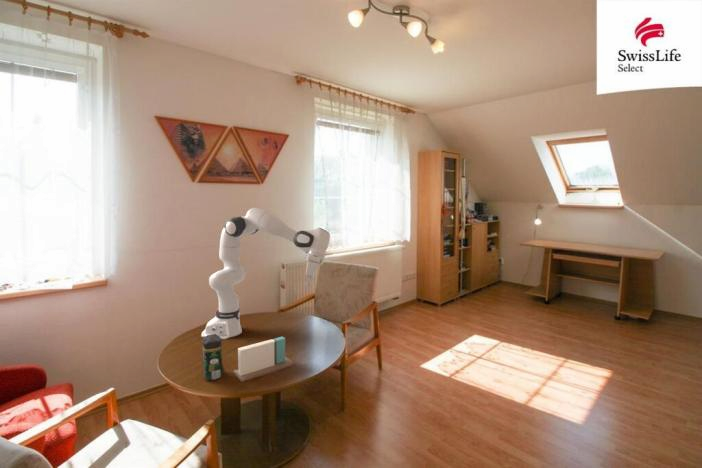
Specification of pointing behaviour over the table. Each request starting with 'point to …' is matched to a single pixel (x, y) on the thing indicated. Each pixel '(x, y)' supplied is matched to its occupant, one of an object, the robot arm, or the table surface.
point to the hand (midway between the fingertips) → (306, 285)
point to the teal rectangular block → (279, 349)
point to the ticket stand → (258, 360)
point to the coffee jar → (212, 357)
